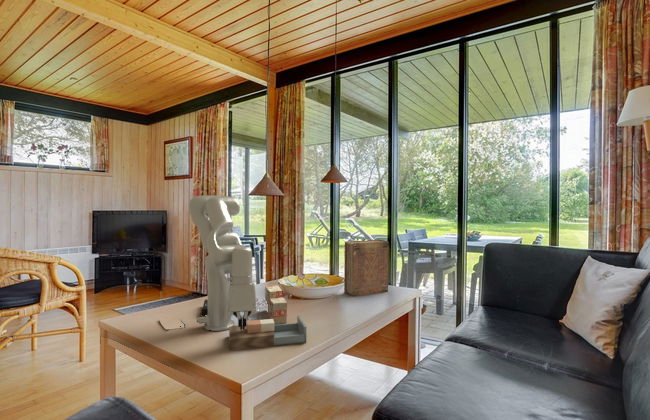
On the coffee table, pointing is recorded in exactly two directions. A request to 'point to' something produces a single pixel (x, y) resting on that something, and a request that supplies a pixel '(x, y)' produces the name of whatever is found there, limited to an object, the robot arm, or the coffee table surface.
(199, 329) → the coffee table surface
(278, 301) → the stack of blocks
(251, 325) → the terracotta tile
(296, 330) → the box
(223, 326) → the robot arm
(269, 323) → the cream tile
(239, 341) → the walnut board
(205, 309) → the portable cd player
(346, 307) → the coffee table surface
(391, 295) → the coffee table surface
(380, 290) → the book
